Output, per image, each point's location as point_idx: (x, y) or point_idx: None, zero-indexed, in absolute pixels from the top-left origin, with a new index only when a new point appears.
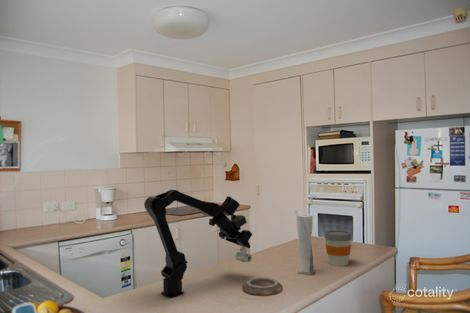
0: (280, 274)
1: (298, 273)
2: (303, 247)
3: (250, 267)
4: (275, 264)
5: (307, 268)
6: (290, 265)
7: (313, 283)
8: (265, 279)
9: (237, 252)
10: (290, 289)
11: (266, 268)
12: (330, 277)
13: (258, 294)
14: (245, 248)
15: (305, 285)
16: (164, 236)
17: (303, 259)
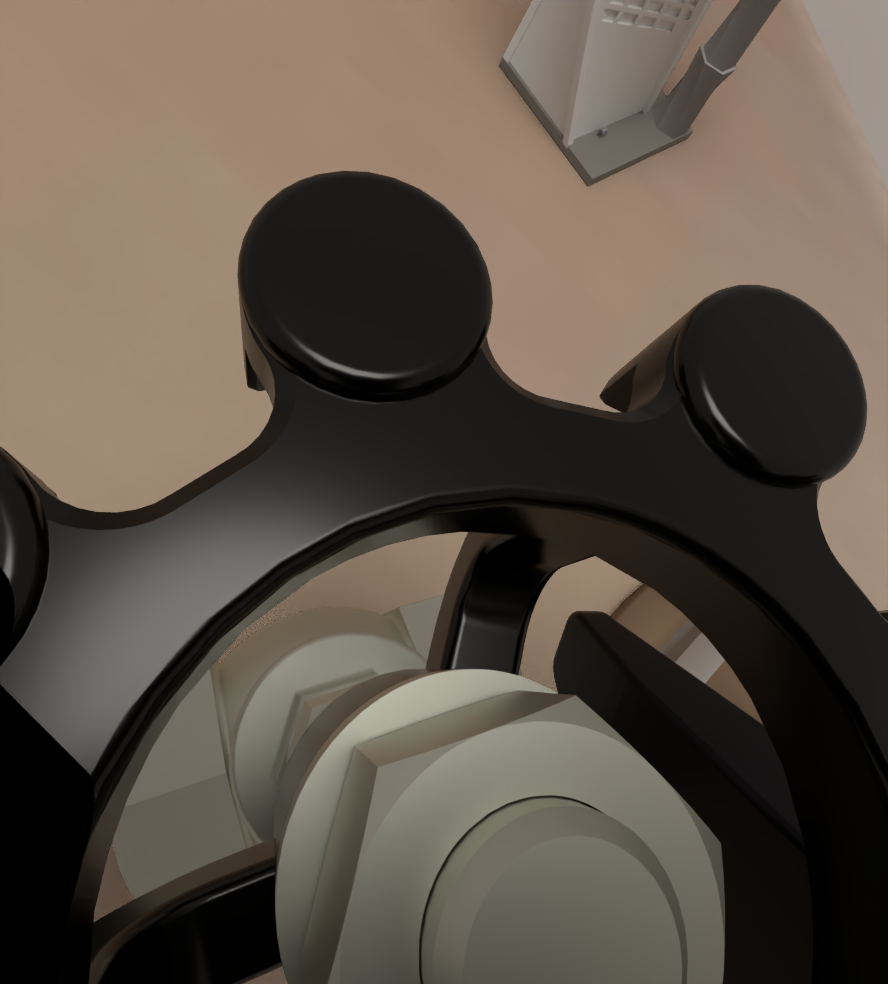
0: (502, 303)
1: (593, 180)
2: None
3: (4, 342)
4: (166, 57)
5: (649, 85)
6: (324, 7)
7: (838, 304)
8: (717, 656)
9: (121, 833)
10: (878, 555)
11: (217, 239)
12: (785, 109)
13: None
14: (342, 650)
15: None
16: None
17: (672, 4)
